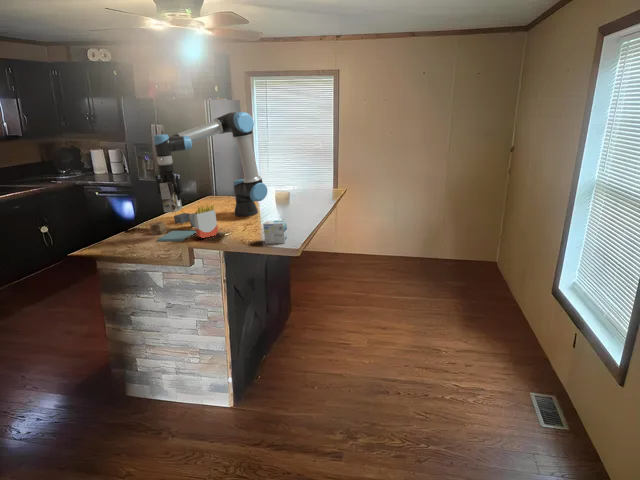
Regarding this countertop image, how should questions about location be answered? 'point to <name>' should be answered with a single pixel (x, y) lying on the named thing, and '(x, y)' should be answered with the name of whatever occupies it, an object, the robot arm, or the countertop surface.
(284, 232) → the light bulb box
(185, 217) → the charcoal box
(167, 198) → the coffee box
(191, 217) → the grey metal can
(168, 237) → the pad
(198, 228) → the french fries container
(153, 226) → the walnut block
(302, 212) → the countertop surface
